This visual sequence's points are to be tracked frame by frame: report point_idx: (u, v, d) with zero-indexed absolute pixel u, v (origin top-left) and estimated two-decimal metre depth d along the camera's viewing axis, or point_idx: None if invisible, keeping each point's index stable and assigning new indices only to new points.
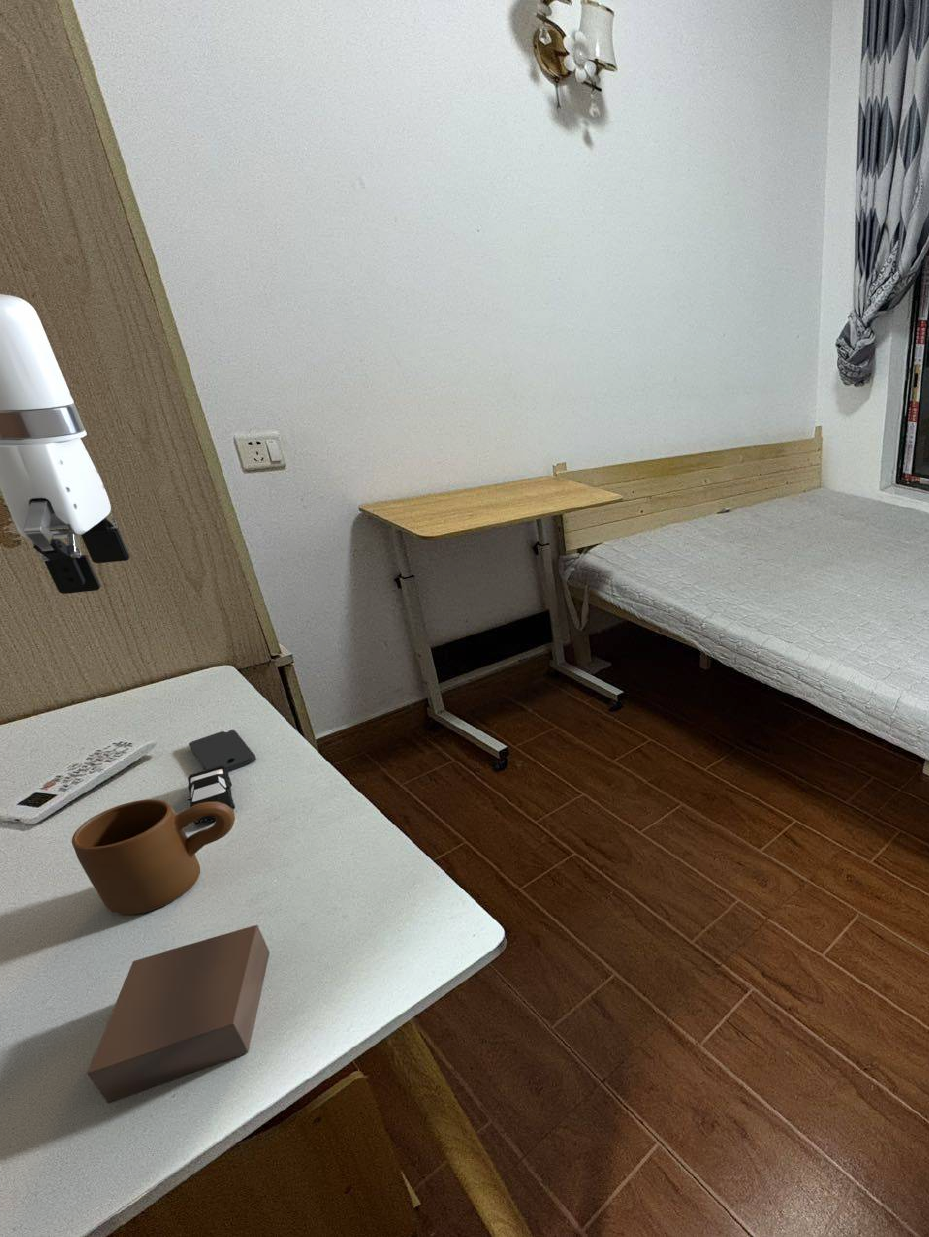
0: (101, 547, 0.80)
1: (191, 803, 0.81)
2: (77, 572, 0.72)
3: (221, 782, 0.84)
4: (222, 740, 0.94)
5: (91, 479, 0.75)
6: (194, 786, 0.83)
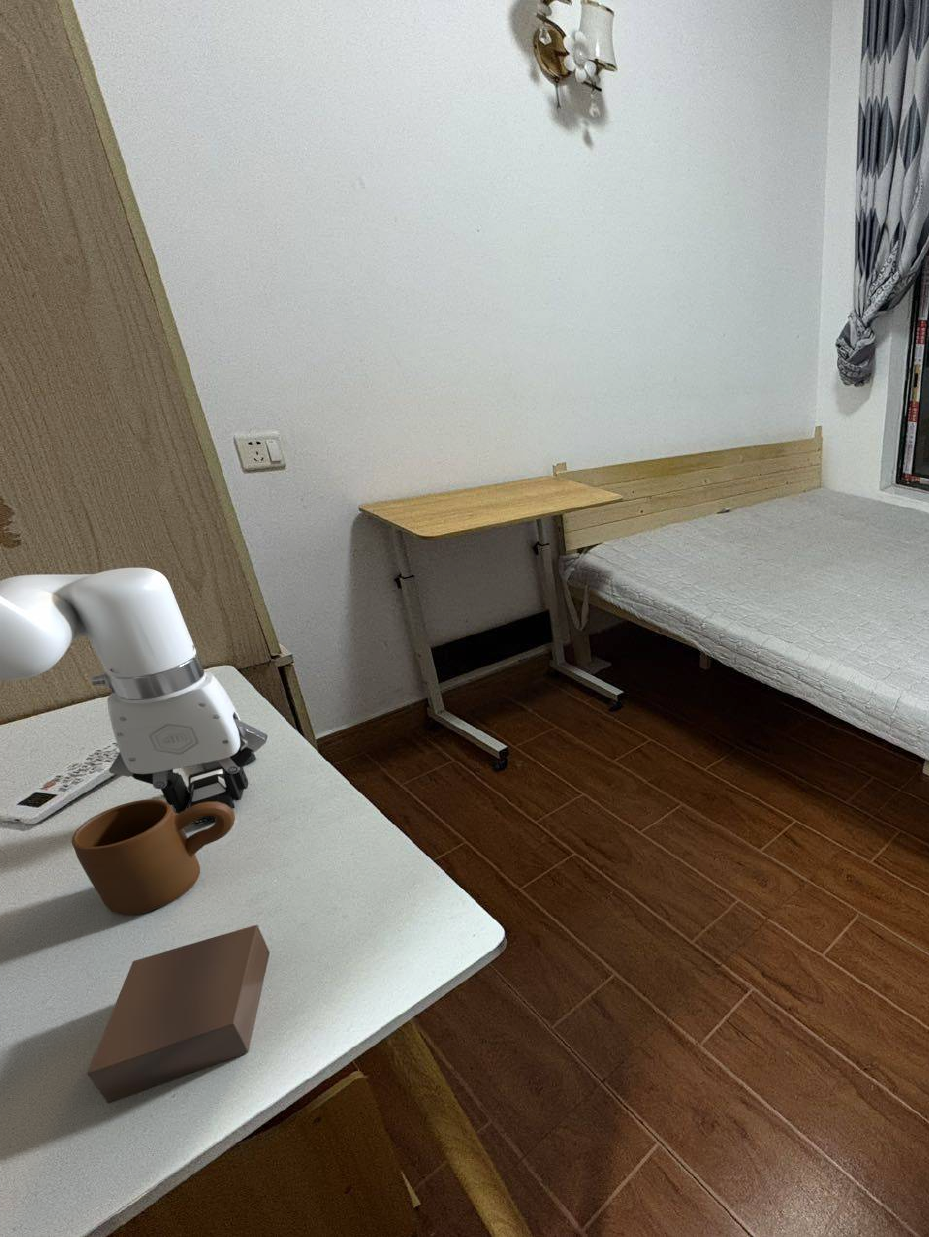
0: (182, 794, 0.82)
1: (191, 803, 0.81)
2: None
3: (221, 782, 0.84)
4: None
5: None
6: (194, 786, 0.83)
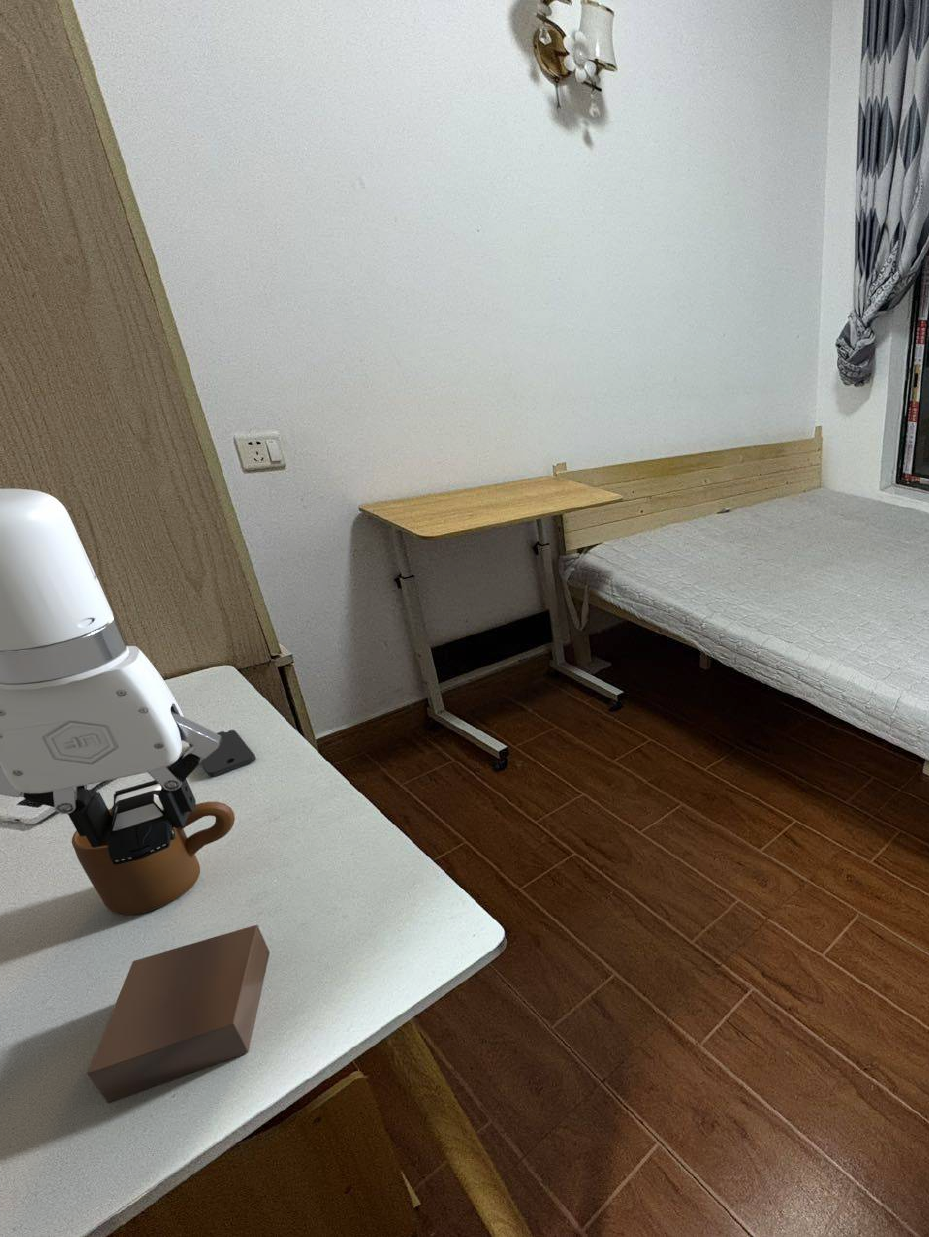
0: (100, 820, 0.58)
1: (111, 833, 0.58)
2: None
3: (157, 802, 0.61)
4: (222, 740, 0.94)
5: None
6: (118, 808, 0.59)
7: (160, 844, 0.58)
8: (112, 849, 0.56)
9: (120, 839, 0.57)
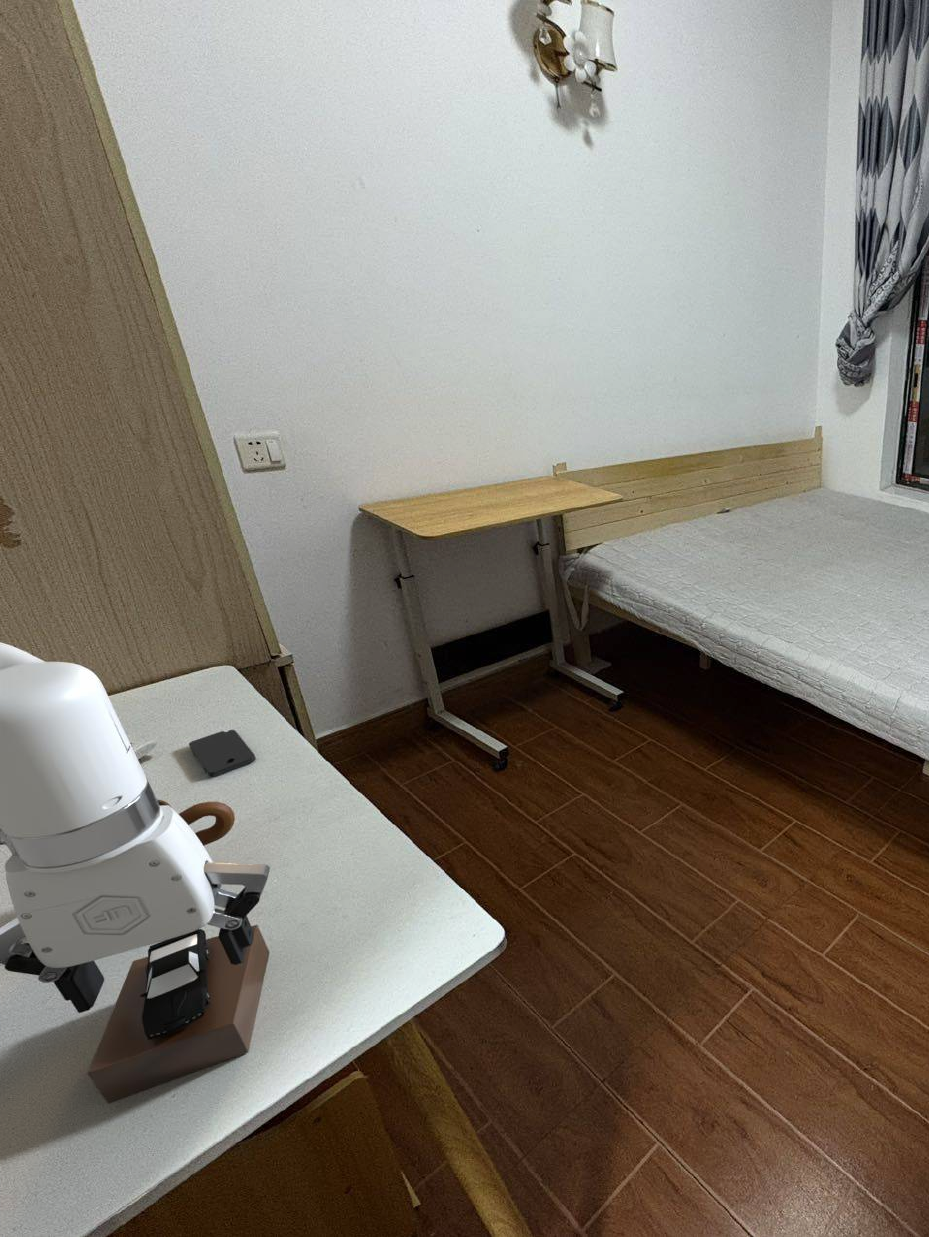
0: (88, 982, 0.54)
1: (146, 1002, 0.56)
2: None
3: (192, 962, 0.58)
4: (222, 740, 0.94)
5: None
6: (153, 971, 0.57)
7: (195, 1014, 0.56)
8: (147, 1022, 0.54)
9: (155, 1010, 0.55)
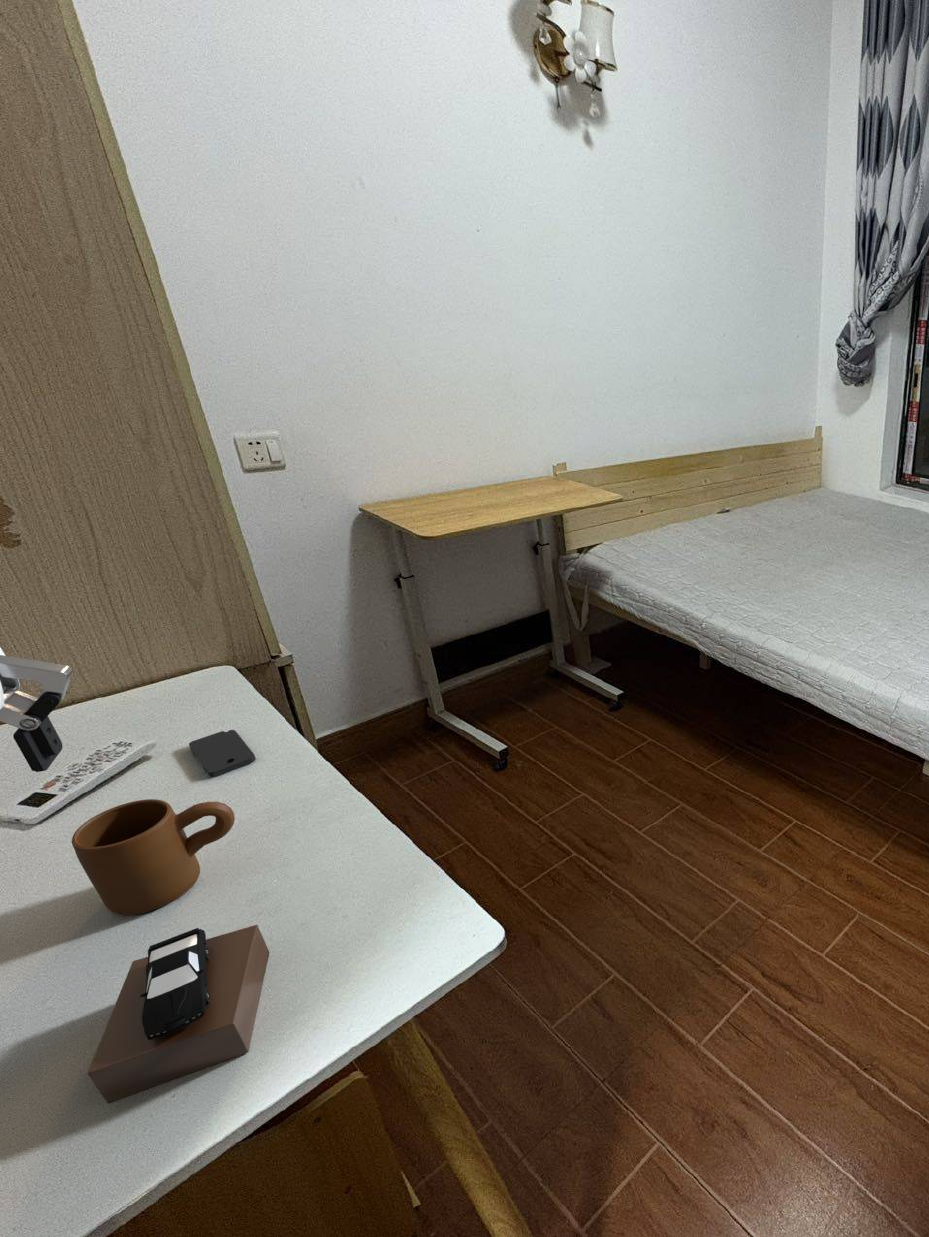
0: None
1: (146, 1002, 0.56)
2: None
3: (192, 962, 0.58)
4: (222, 740, 0.94)
5: None
6: (152, 972, 0.57)
7: (195, 1014, 0.56)
8: (147, 1023, 0.54)
9: (155, 1010, 0.55)
